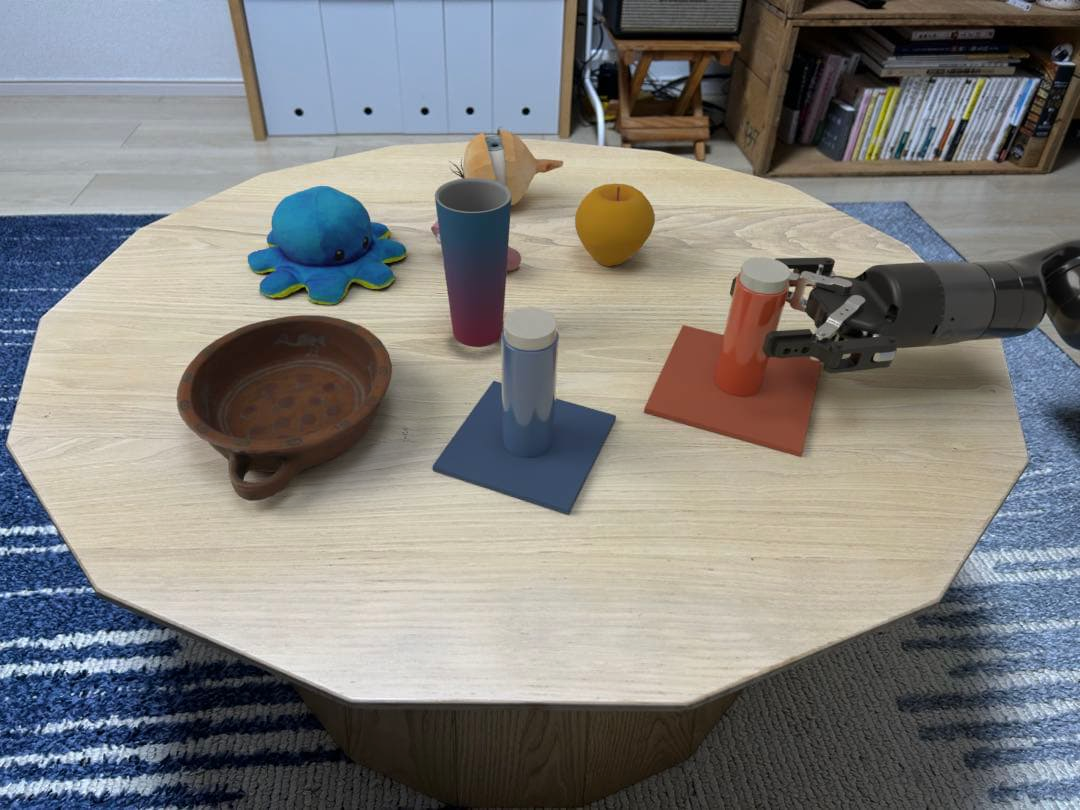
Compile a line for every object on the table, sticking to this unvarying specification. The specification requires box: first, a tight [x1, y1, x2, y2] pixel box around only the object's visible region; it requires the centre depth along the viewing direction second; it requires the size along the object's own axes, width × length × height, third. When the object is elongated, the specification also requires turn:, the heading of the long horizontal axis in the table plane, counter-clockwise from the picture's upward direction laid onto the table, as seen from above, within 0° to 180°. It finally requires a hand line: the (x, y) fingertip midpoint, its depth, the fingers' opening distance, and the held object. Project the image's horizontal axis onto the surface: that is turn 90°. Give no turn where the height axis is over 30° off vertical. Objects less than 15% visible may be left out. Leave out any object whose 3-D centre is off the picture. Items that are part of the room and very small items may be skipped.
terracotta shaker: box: [714, 256, 791, 396], centre depth 68 cm, size 4×4×12 cm
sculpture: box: [449, 125, 565, 207], centre depth 96 cm, size 9×9×15 cm
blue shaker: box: [500, 307, 560, 458], centre depth 61 cm, size 4×4×12 cm
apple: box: [574, 183, 656, 267], centre depth 86 cm, size 9×9×9 cm
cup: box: [434, 178, 512, 347], centre depth 73 cm, size 7×7×15 cm
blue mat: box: [432, 380, 617, 515], centre depth 66 cm, size 12×12×1 cm
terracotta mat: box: [643, 324, 823, 457], centre depth 72 cm, size 14×14×1 cm
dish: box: [176, 314, 393, 502], centre depth 66 cm, size 17×22×5 cm
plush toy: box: [247, 185, 408, 306], centre depth 84 cm, size 17×17×8 cm
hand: (748, 315), depth 67 cm, fingers open, 8 cm apart
